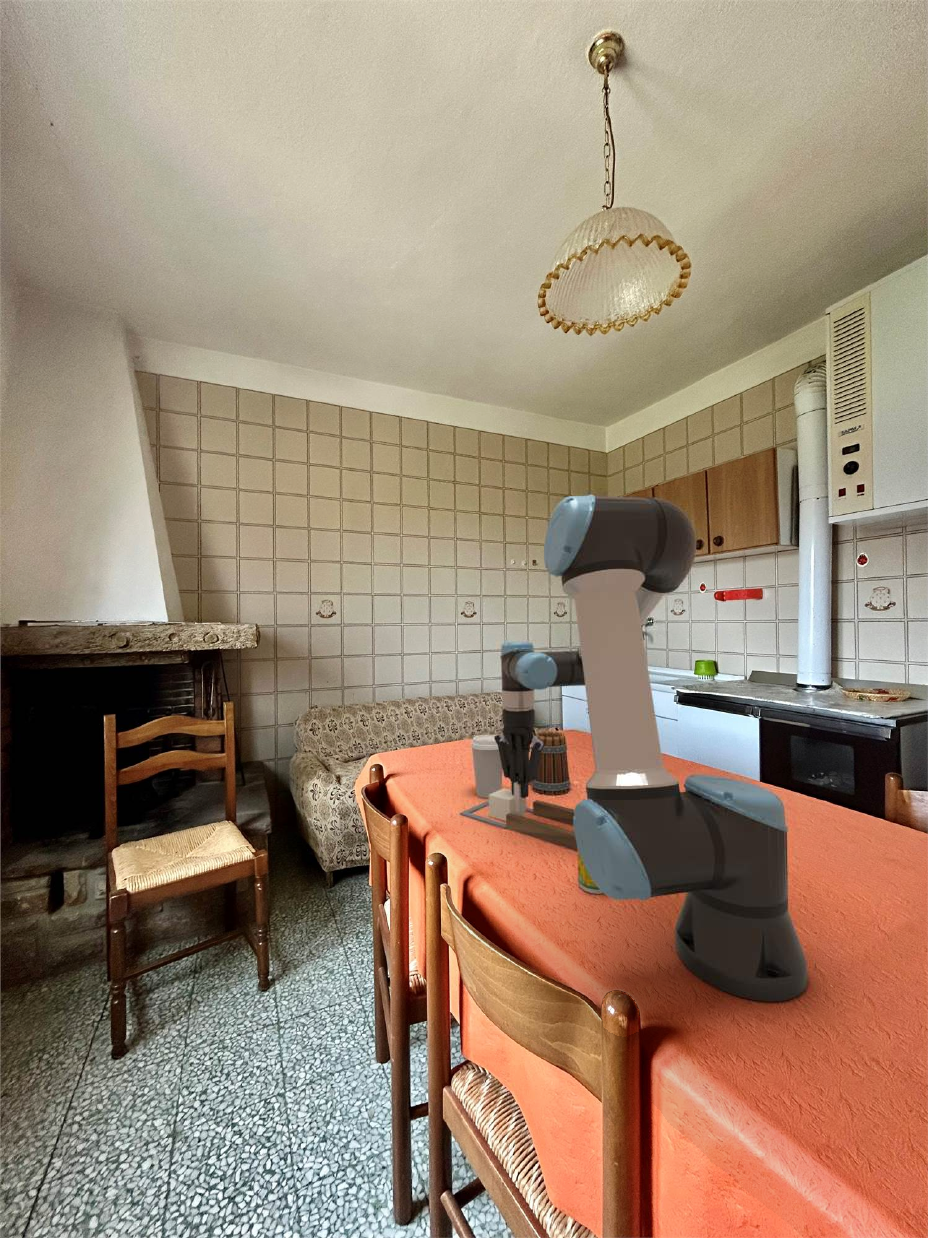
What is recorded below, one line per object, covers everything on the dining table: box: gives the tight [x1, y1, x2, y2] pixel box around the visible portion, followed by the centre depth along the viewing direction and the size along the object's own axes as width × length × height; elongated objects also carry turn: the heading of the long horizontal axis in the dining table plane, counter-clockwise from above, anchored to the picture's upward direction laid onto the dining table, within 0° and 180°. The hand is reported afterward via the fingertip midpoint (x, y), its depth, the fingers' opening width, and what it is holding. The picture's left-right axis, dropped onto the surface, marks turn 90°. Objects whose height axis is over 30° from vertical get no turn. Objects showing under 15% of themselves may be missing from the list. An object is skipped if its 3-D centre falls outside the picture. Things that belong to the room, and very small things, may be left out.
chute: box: [505, 799, 578, 852], centre depth 106 cm, size 12×22×3 cm, turn 48°
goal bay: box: [459, 799, 533, 830], centre depth 118 cm, size 13×14×1 cm
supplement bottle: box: [577, 846, 604, 895], centre depth 84 cm, size 5×5×10 cm
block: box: [488, 788, 526, 822], centre depth 116 cm, size 6×6×5 cm
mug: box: [530, 730, 571, 796], centre depth 136 cm, size 16×11×15 cm
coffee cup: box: [469, 734, 503, 800], centre depth 131 cm, size 10×10×15 cm
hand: (520, 810), depth 114 cm, fingers closed
